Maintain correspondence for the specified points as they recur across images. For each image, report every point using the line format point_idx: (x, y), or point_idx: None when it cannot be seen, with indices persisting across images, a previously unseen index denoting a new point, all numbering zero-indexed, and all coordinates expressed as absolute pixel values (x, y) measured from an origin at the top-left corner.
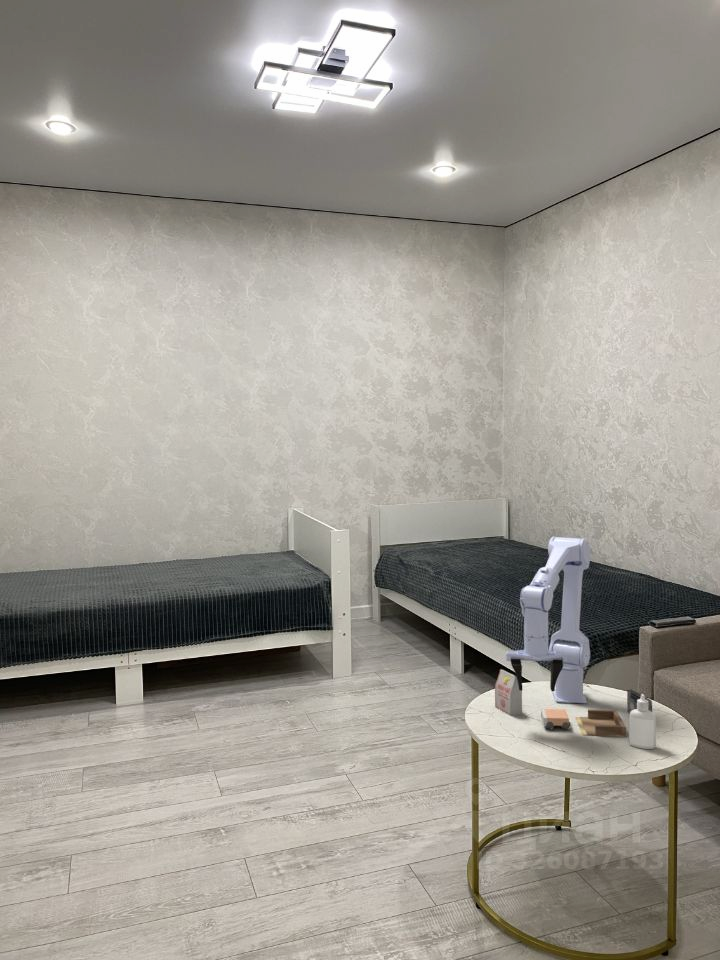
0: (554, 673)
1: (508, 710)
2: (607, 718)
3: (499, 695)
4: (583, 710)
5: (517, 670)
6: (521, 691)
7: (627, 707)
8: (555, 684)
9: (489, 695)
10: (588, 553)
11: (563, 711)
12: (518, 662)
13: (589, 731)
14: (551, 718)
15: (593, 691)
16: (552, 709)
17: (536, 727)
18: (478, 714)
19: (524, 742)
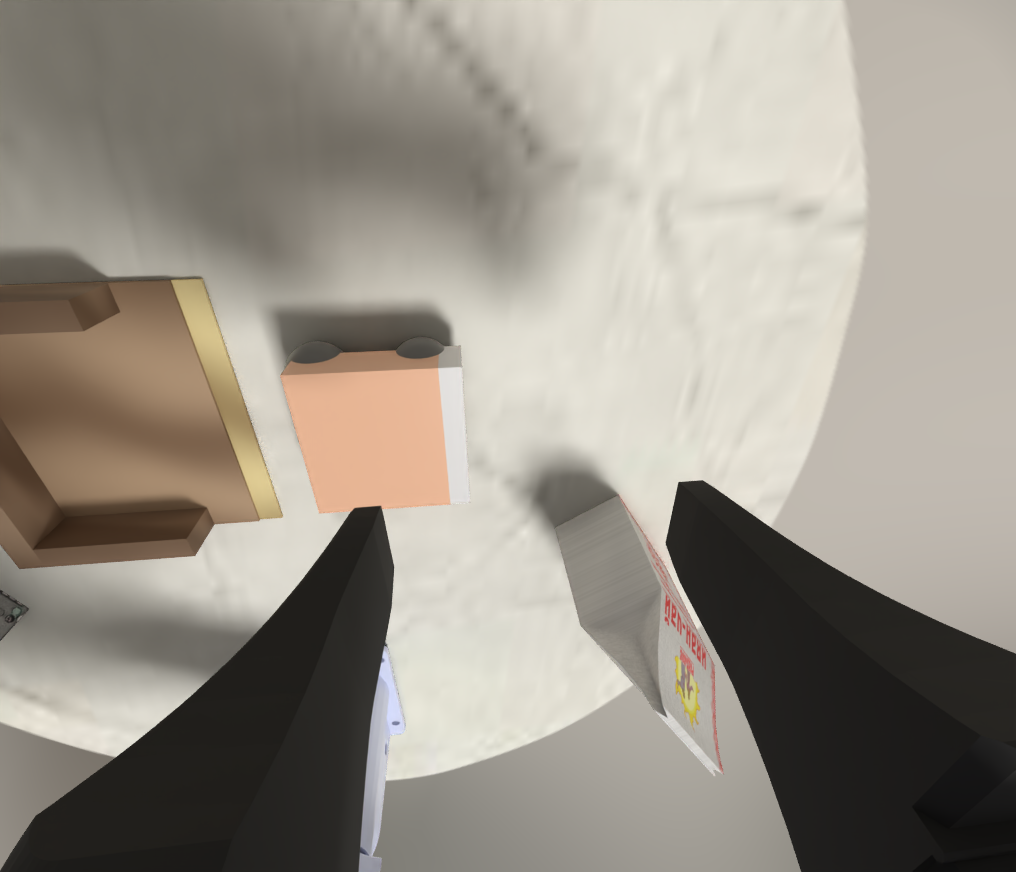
0: (281, 683)
1: (631, 518)
2: (96, 517)
3: (681, 605)
4: (254, 595)
5: (944, 650)
6: (583, 621)
7: (6, 629)
8: (319, 557)
9: None
10: None
11: (328, 484)
12: (998, 839)
13: (164, 331)
14: (406, 368)
15: None
16: (399, 502)
17: (500, 367)
18: (769, 487)
19: (612, 92)
